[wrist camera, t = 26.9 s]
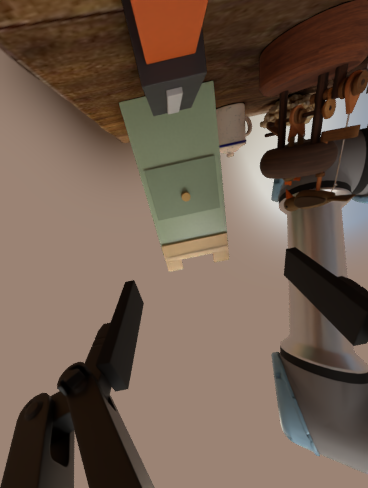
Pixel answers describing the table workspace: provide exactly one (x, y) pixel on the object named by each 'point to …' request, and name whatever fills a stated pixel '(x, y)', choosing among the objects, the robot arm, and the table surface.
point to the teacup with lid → (232, 128)
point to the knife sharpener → (168, 50)
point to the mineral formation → (289, 109)
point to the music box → (314, 95)
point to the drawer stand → (181, 175)
